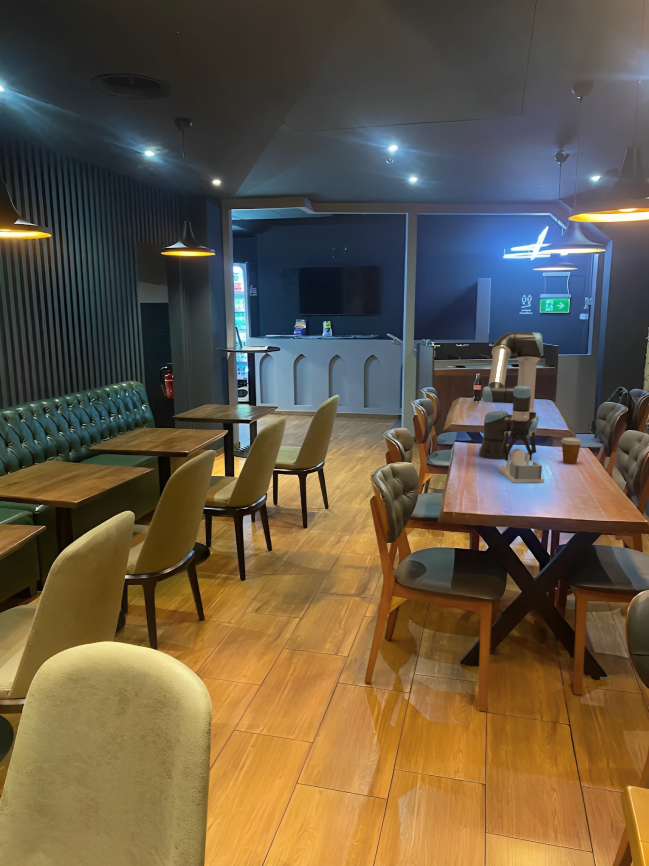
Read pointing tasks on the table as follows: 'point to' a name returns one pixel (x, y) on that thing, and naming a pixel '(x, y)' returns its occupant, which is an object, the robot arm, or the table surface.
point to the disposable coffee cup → (570, 449)
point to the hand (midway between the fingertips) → (517, 467)
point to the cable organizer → (518, 457)
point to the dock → (522, 472)
